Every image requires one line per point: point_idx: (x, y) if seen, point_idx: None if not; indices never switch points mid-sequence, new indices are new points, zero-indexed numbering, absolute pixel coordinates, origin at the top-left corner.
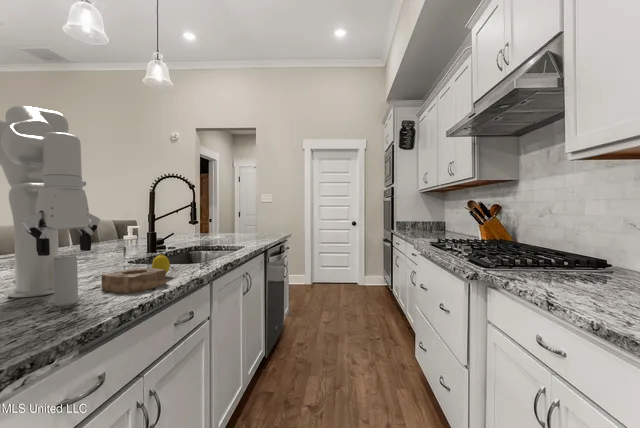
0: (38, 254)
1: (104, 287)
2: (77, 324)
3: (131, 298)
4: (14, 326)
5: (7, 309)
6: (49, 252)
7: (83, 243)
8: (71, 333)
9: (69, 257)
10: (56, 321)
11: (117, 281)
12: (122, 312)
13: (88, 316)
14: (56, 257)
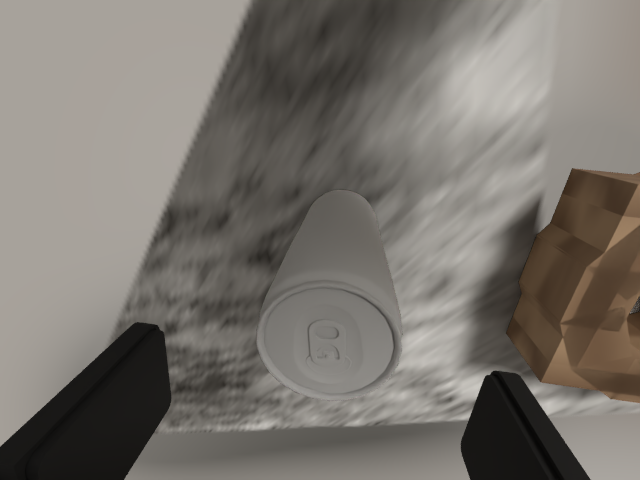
0: (136, 329)
1: (575, 189)
2: (215, 396)
3: (433, 370)
4: (152, 283)
5: (234, 54)
6: (159, 420)
7: (503, 478)
8: (179, 420)
9: (310, 392)
10: (211, 342)
11: (549, 297)
12: (306, 425)
13: (261, 379)
14: (281, 320)
